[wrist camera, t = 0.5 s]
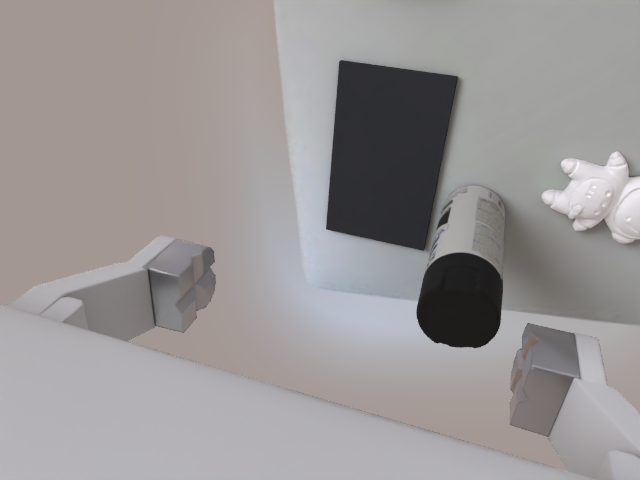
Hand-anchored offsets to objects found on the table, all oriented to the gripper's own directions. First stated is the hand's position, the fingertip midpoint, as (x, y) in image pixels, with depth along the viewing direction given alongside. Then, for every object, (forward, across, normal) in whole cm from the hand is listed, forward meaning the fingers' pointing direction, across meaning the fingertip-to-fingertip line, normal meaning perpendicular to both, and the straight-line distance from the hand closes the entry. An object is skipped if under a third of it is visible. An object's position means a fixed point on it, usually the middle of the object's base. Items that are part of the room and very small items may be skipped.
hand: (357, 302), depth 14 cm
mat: (+44, +7, +14) cm, 47 cm away
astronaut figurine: (+44, -16, +14) cm, 49 cm away
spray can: (+44, -4, +18) cm, 48 cm away
